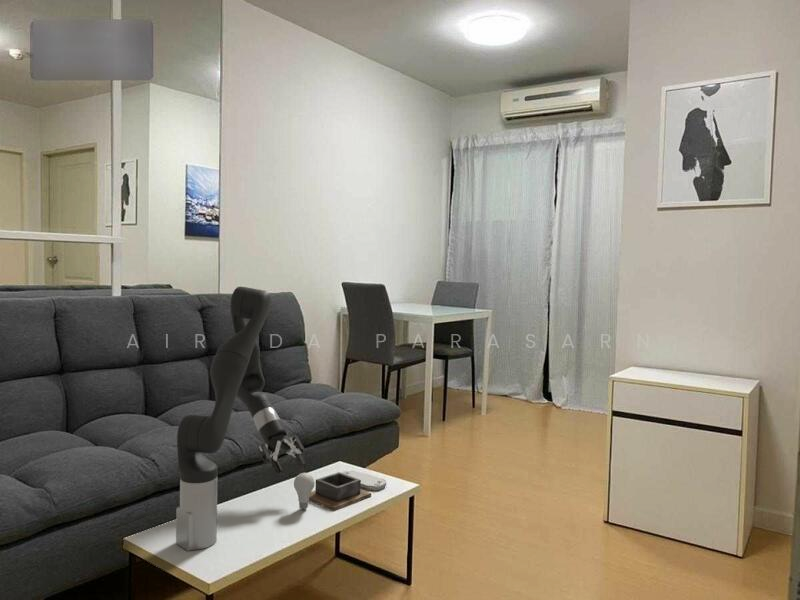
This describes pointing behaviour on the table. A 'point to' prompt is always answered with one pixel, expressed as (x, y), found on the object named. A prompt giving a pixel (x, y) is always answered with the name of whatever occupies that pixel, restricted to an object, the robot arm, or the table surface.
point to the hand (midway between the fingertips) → (292, 470)
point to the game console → (367, 480)
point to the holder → (338, 491)
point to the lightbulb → (303, 488)
